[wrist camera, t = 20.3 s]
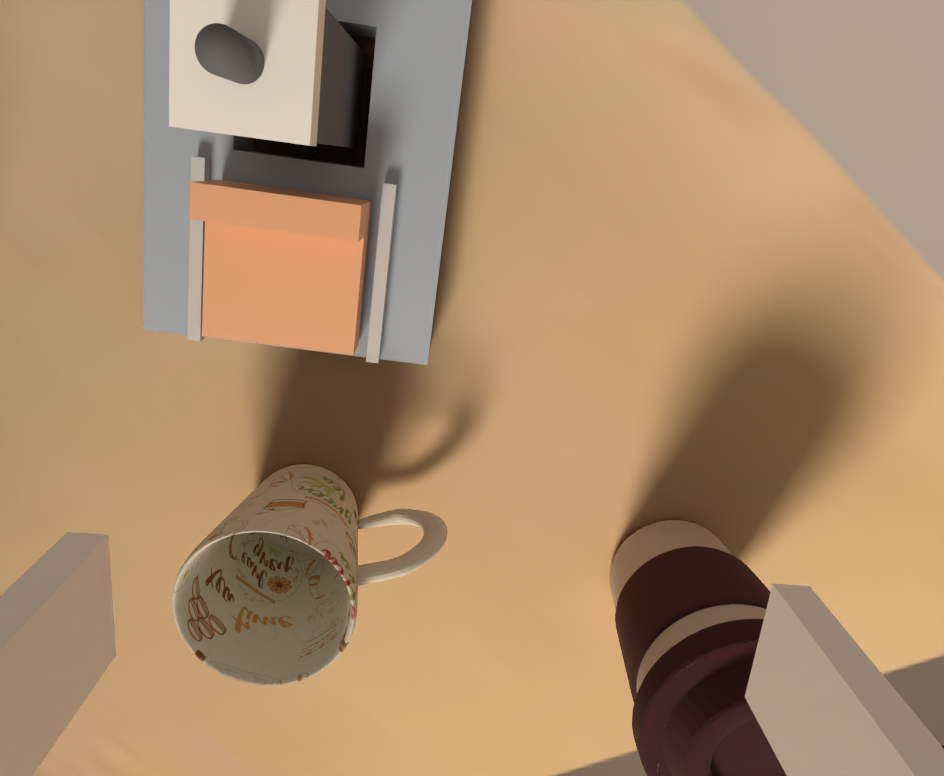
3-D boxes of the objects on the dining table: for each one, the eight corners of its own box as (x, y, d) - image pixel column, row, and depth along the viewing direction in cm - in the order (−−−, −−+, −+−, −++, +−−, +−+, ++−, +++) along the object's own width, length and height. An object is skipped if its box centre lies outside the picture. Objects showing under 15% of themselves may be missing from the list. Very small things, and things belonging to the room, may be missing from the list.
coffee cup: (620, 660, 46) (694, 884, 32) (561, 535, 43) (613, 719, 29) (768, 602, 45) (913, 807, 31) (717, 470, 42) (851, 628, 28)
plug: (272, 38, 35) (137, -52, 20) (367, 52, 35) (303, -27, 20) (267, 138, 36) (138, 122, 21) (359, 151, 37) (294, 144, 22)
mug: (216, 459, 41) (145, 548, 32) (431, 417, 41) (424, 495, 31) (257, 583, 44) (203, 700, 34) (460, 545, 44) (462, 653, 34)
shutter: (214, 327, 35) (186, 346, 32) (218, 179, 33) (190, 181, 30) (357, 345, 36) (347, 366, 32) (371, 200, 34) (361, 205, 30)
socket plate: (170, 315, 39) (136, 333, 35) (175, -64, 34) (136, -95, 30) (429, 347, 40) (426, 369, 36) (474, -17, 34) (477, -41, 30)
